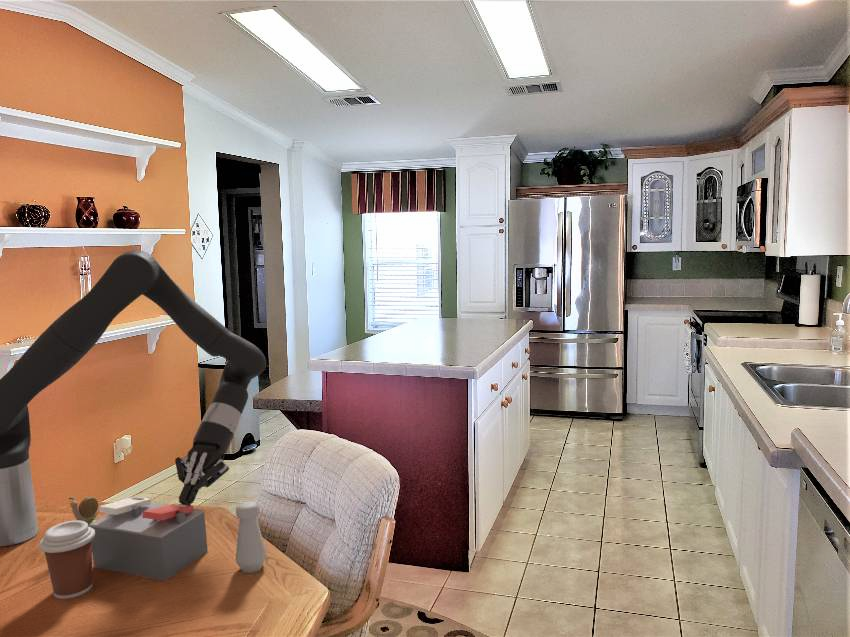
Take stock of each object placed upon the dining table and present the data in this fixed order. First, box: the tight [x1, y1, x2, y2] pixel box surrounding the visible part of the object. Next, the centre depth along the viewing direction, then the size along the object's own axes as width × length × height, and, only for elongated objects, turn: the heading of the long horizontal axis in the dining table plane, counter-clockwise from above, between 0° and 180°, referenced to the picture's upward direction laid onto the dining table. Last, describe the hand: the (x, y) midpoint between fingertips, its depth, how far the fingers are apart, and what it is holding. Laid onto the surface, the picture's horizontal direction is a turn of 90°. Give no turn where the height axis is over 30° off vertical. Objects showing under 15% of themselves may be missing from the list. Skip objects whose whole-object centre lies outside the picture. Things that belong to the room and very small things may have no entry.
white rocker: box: [98, 496, 152, 515], centre depth 133 cm, size 4×9×1 cm, turn 159°
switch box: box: [89, 502, 209, 582], centre depth 132 cm, size 18×12×11 cm, turn 69°
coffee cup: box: [38, 519, 95, 600], centre depth 121 cm, size 9×9×12 cm
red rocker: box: [142, 503, 194, 520], centre depth 129 cm, size 4×9×1 cm, turn 159°
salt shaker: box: [235, 501, 267, 574], centre depth 126 cm, size 6×6×13 cm
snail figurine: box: [68, 496, 99, 527], centre depth 139 cm, size 5×6×12 cm
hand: (184, 504), depth 133 cm, fingers closed
